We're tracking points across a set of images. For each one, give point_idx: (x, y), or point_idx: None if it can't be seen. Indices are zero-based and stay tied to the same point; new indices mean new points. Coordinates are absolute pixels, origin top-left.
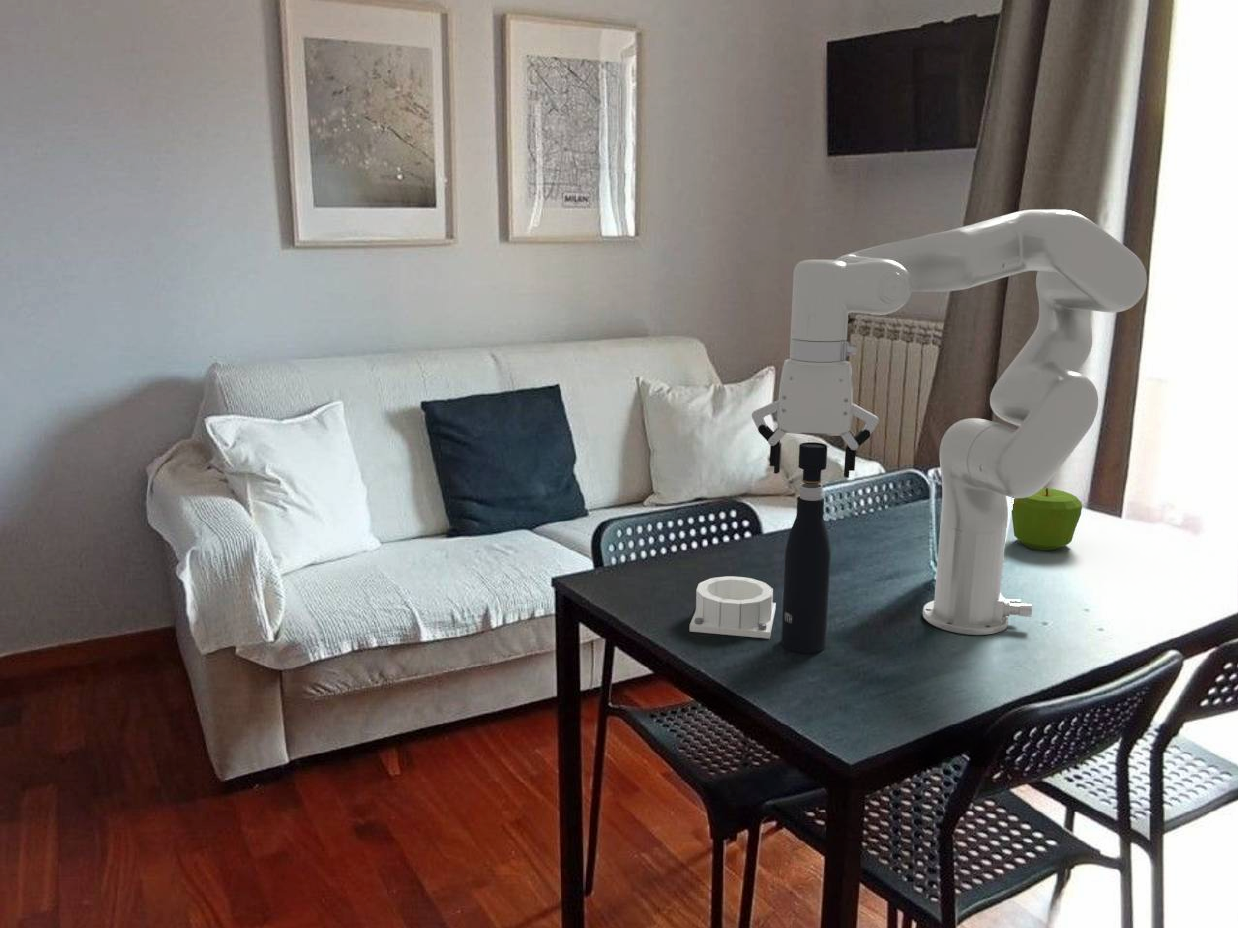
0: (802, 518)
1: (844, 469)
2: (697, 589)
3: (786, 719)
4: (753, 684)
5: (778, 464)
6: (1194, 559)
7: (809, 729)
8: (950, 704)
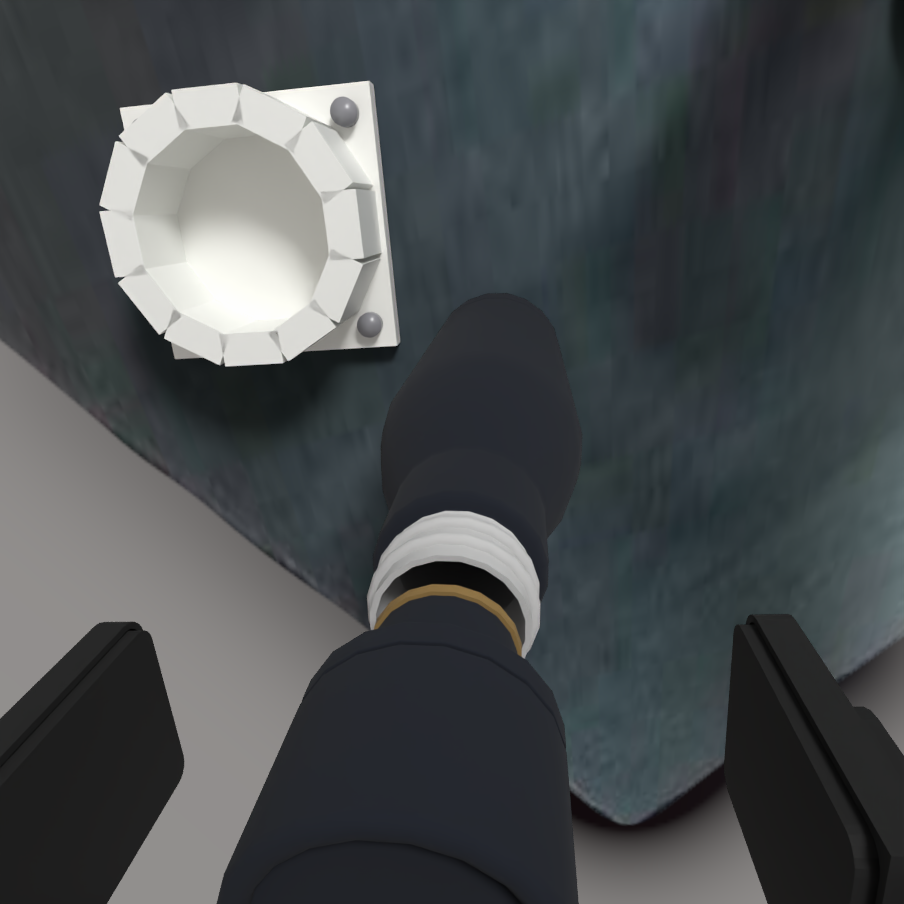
0: (435, 579)
1: (746, 835)
2: (117, 274)
3: None
4: None
5: (141, 833)
6: None
7: None
8: (859, 595)
